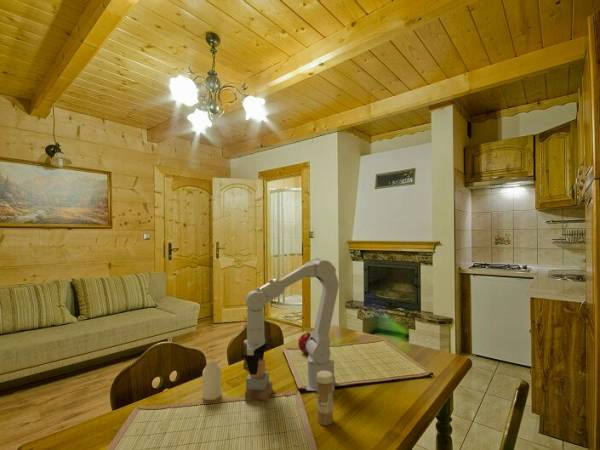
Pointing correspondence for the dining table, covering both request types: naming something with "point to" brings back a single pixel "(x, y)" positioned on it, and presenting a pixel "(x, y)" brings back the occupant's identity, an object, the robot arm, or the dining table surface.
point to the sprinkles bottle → (325, 397)
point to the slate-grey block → (257, 382)
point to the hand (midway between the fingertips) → (256, 368)
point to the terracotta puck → (260, 370)
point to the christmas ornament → (304, 342)
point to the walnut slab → (259, 394)
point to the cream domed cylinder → (211, 381)
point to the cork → (245, 360)
